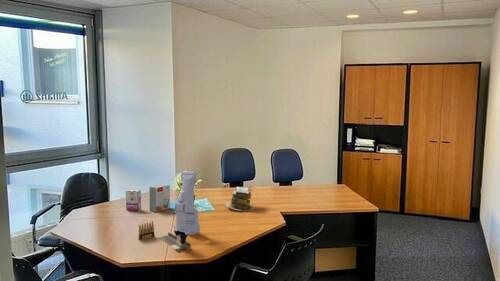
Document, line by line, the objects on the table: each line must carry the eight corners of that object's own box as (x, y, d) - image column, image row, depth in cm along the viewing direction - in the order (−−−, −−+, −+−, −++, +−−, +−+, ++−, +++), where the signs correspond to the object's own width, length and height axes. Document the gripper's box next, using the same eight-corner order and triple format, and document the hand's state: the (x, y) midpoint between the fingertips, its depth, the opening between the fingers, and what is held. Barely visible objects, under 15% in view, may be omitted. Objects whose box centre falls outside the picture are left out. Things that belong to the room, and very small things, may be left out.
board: (169, 236, 275) (169, 232, 274) (190, 248, 255) (190, 243, 255) (157, 240, 269) (157, 235, 269) (177, 252, 249) (177, 247, 249)
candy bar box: (141, 209, 337) (141, 189, 335) (138, 211, 332) (138, 191, 330) (129, 208, 339) (128, 189, 337) (126, 210, 334) (125, 190, 332)
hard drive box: (155, 212, 329) (155, 188, 326) (149, 210, 334) (148, 186, 331) (170, 208, 341) (169, 184, 339) (164, 206, 346) (163, 183, 343)
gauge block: (182, 243, 259) (182, 233, 259) (185, 244, 256) (185, 235, 256) (176, 244, 257) (176, 235, 256) (180, 246, 254) (180, 237, 253)
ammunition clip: (153, 238, 273) (153, 220, 271) (154, 238, 271) (154, 221, 270) (138, 241, 266) (137, 223, 264) (139, 242, 264) (139, 224, 263)
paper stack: (258, 205, 352) (258, 186, 350) (250, 213, 328) (250, 192, 326) (230, 202, 359) (230, 184, 357) (221, 210, 335) (220, 190, 333)
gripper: (169, 219, 258) (169, 240, 259) (181, 225, 247) (181, 247, 248) (179, 217, 262) (179, 238, 264) (191, 223, 251) (191, 244, 253)
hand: (181, 242), depth 256 cm, fingers closed on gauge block, 4 cm apart
